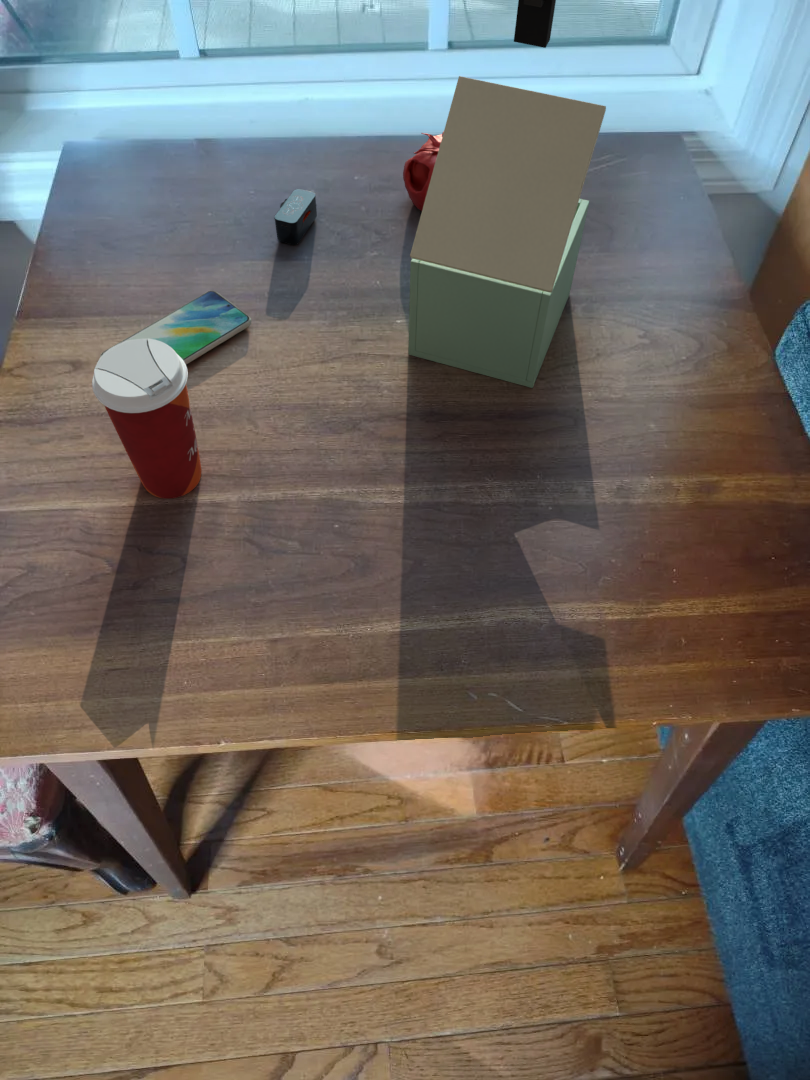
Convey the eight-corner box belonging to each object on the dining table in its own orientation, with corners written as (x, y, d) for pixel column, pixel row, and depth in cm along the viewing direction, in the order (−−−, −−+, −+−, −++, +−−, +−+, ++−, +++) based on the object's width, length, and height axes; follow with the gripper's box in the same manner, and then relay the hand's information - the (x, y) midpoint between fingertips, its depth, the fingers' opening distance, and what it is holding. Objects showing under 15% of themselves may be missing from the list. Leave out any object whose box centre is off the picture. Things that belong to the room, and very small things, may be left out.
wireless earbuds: (321, 213, 104) (319, 189, 102) (297, 248, 100) (294, 224, 98) (286, 205, 105) (283, 180, 102) (261, 239, 101) (257, 215, 99)
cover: (460, 79, 79) (458, 75, 78) (606, 109, 76) (606, 105, 76) (411, 258, 81) (409, 256, 80) (551, 293, 79) (551, 291, 78)
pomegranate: (485, 180, 109) (492, 108, 101) (481, 229, 103) (488, 156, 95) (406, 174, 109) (408, 102, 101) (398, 223, 103) (399, 150, 96)
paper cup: (229, 476, 81) (203, 367, 70) (162, 522, 78) (123, 416, 66) (180, 431, 84) (147, 319, 73) (113, 473, 81) (67, 364, 70)
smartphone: (96, 354, 89) (212, 287, 95) (98, 360, 89) (213, 294, 96) (136, 390, 86) (254, 318, 92) (139, 396, 86) (255, 325, 93)
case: (454, 265, 99) (461, 171, 89) (569, 294, 97) (589, 200, 87) (407, 354, 91) (410, 261, 81) (532, 388, 88) (550, 296, 79)
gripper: (553, -398, 56) (509, -3, 75) (496, -354, 49) (464, 69, 68) (668, -386, 54) (594, 13, 74) (627, -339, 47) (556, 88, 67)
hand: (531, 40), depth 71 cm, fingers closed
